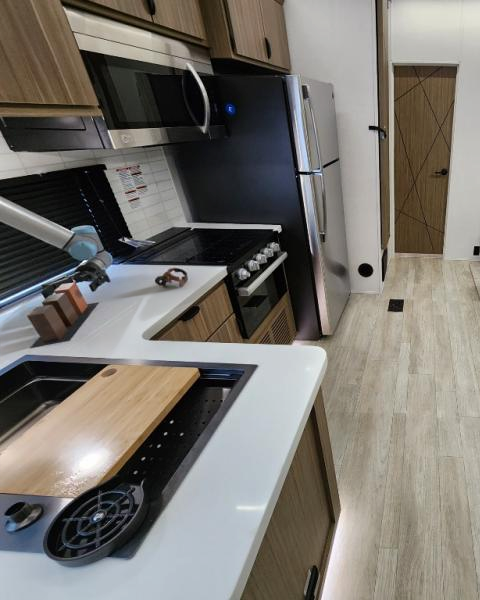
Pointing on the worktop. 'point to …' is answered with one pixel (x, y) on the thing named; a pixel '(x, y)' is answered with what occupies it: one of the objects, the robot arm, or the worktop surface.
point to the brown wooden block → (62, 308)
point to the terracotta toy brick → (73, 296)
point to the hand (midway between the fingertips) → (68, 291)
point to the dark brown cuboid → (47, 323)
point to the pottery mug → (171, 277)
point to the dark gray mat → (69, 327)
